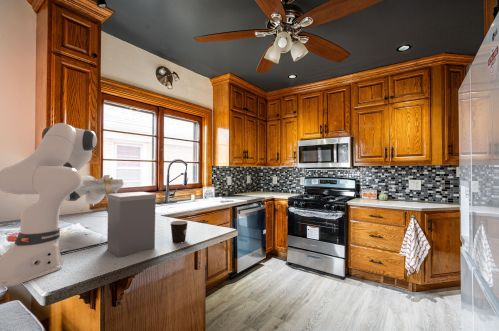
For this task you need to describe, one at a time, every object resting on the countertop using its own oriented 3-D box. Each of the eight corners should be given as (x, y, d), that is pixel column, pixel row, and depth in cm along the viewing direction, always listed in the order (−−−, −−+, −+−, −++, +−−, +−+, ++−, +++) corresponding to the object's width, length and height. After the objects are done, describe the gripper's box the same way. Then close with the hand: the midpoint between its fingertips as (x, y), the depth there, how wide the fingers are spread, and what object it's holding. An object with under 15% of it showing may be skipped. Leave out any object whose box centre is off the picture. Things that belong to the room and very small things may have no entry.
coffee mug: (179, 237, 133) (180, 219, 133) (190, 240, 128) (191, 222, 128) (161, 243, 123) (162, 223, 123) (172, 246, 118) (172, 226, 118)
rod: (101, 177, 136) (103, 174, 134) (109, 177, 139) (112, 173, 137) (107, 212, 130) (109, 209, 127) (115, 211, 133) (118, 208, 131)
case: (106, 249, 113) (107, 194, 113) (141, 241, 125) (142, 191, 125) (118, 257, 103) (119, 197, 103) (155, 248, 116) (156, 194, 116)
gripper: (78, 185, 136) (85, 173, 128) (117, 183, 152) (125, 173, 144) (80, 195, 134) (87, 184, 126) (119, 192, 150) (127, 182, 142)
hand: (107, 178), depth 135 cm, fingers closed on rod, 3 cm apart
